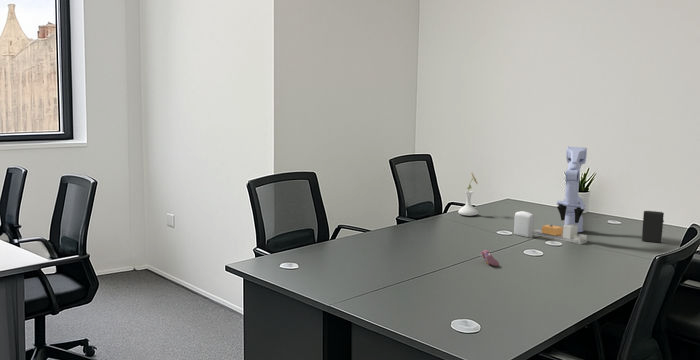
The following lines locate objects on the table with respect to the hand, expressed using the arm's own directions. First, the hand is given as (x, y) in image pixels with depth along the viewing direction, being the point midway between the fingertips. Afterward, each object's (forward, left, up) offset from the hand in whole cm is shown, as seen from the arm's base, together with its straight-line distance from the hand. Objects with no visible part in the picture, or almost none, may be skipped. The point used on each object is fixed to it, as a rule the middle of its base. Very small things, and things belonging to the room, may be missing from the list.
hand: (569, 221), depth 338 cm
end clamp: (0, -9, -8) cm, 12 cm away
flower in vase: (-9, -72, -10) cm, 73 cm away
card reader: (-31, +27, -10) cm, 42 cm away
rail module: (0, +1, -8) cm, 8 cm away
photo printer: (+10, -19, -10) cm, 24 cm away
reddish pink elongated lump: (+66, +4, -10) cm, 67 cm away
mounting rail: (0, -6, -9) cm, 11 cm away
